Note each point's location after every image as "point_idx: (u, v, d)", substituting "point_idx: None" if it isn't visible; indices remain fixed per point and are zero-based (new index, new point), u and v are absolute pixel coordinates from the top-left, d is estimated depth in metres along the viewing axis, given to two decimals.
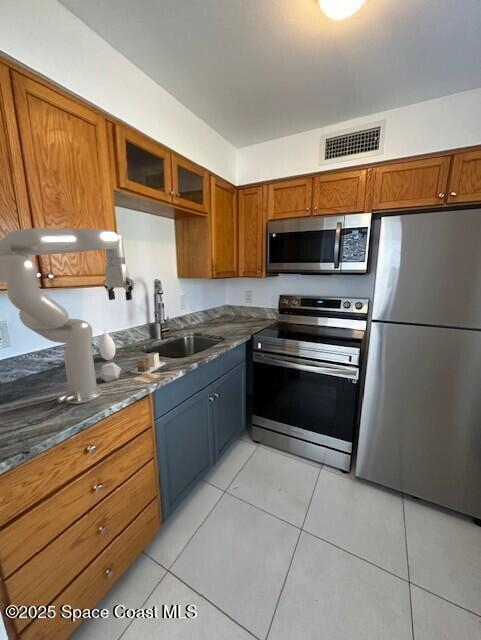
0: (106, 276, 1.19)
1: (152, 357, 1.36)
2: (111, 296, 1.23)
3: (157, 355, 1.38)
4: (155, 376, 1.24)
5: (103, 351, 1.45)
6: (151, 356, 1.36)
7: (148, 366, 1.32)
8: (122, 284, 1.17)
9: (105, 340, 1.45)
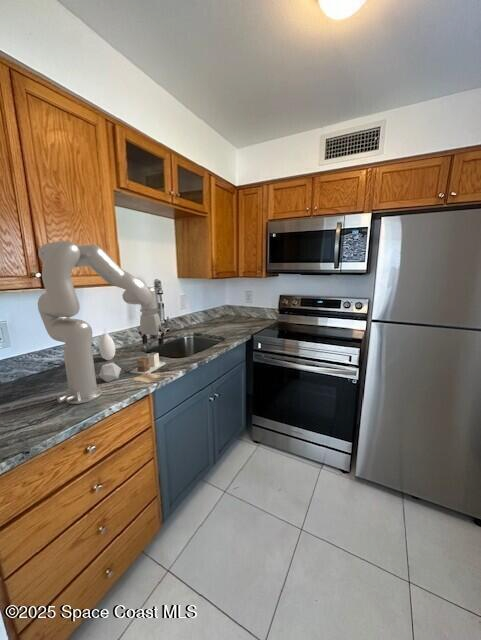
0: (141, 324, 1.34)
1: (152, 357, 1.36)
2: (144, 341, 1.38)
3: (157, 355, 1.38)
4: (155, 376, 1.24)
5: (103, 351, 1.45)
6: (151, 356, 1.36)
7: (148, 366, 1.32)
8: (155, 332, 1.32)
9: (105, 340, 1.45)
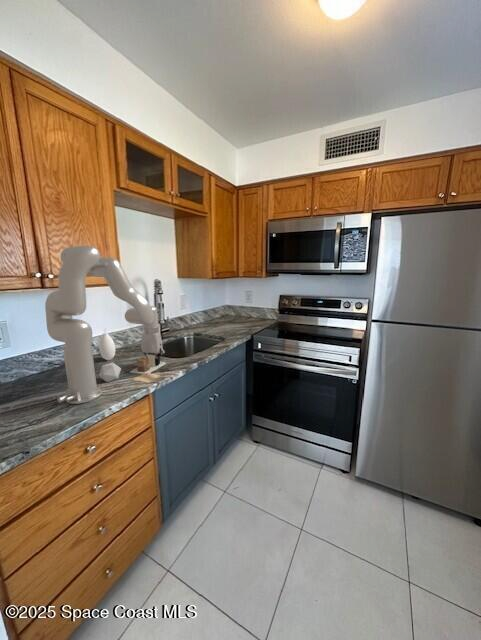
0: (142, 343, 1.35)
1: (152, 357, 1.36)
2: None
3: None
4: (155, 376, 1.24)
5: (103, 351, 1.45)
6: (151, 356, 1.36)
7: (148, 366, 1.32)
8: (156, 351, 1.34)
9: (105, 340, 1.45)
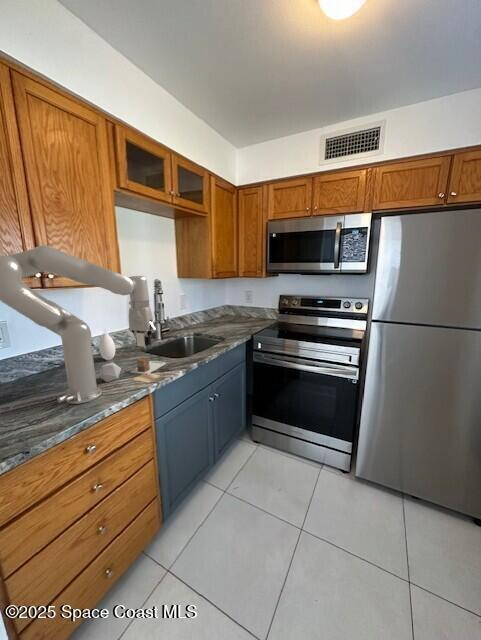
0: (129, 319, 1.16)
1: (141, 335, 1.17)
2: None
3: None
4: (155, 376, 1.24)
5: (103, 351, 1.45)
6: (140, 334, 1.17)
7: (148, 366, 1.32)
8: (146, 328, 1.14)
9: (105, 340, 1.45)
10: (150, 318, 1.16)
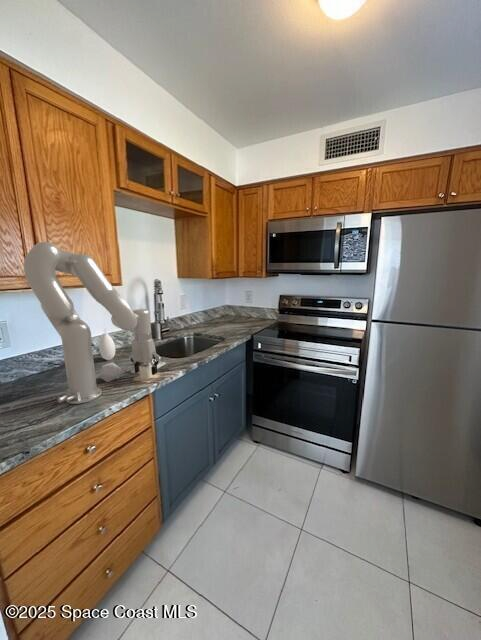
0: (133, 351, 1.19)
1: (144, 369, 1.20)
2: (137, 369, 1.23)
3: (150, 366, 1.22)
4: (155, 376, 1.24)
5: (103, 351, 1.45)
6: (143, 368, 1.20)
7: None
8: (149, 360, 1.17)
9: (105, 340, 1.45)
10: (153, 350, 1.19)
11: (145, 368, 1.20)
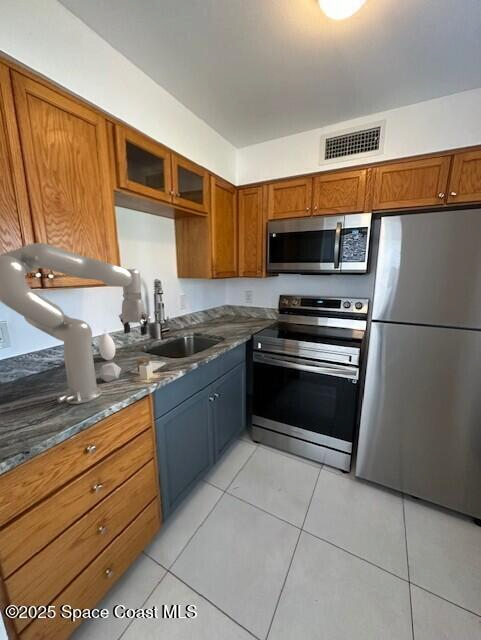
0: (122, 311, 1.20)
1: (144, 369, 1.20)
2: (127, 330, 1.23)
3: (150, 366, 1.22)
4: (155, 376, 1.24)
5: (103, 351, 1.45)
6: (143, 368, 1.20)
7: None
8: (138, 319, 1.17)
9: (105, 340, 1.45)
10: (142, 310, 1.19)
11: (145, 368, 1.20)
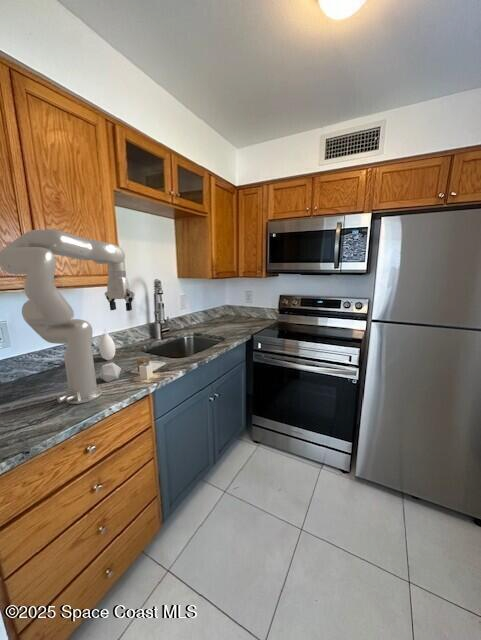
0: (108, 288, 1.27)
1: (144, 369, 1.20)
2: (112, 307, 1.31)
3: (150, 366, 1.22)
4: (155, 376, 1.24)
5: (103, 351, 1.45)
6: (143, 368, 1.20)
7: None
8: (123, 296, 1.25)
9: (105, 340, 1.45)
10: (127, 287, 1.26)
11: (145, 368, 1.20)
